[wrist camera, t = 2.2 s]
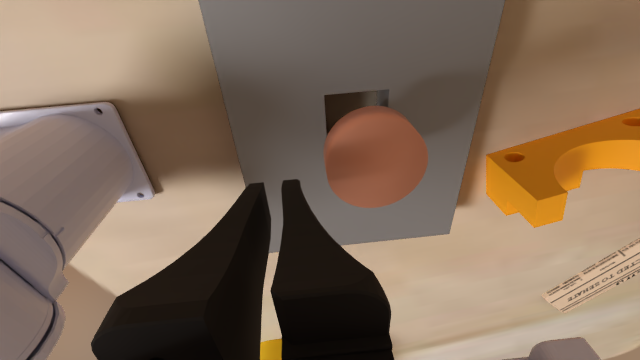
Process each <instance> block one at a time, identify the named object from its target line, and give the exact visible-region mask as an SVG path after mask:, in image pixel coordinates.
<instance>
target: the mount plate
mask: <svg viewBox="0 0 640 360" xmlns="http://www.w3.org/2000/svg"><path fill="white" fill-rule="evenodd" d="M198 1H199V5H200V9H201V12H202V16H203V20H204V24H205V28H206V32H207V36H208V40H209V44H210V48H211V52H212V56H213V60H214V64H215V68H216V72H217V76H218V80H219V84H220V88H221V91H222V95H223V99H224V103H225V107H226V111H227V115H228V119H229V123H230V127H231V131H232V135H233V139H234V143H235V147H236V151H237V155H238V159H239V163H240V167H241V170H242V174H243V178H244V182H245V186H246V187H247V186H248V185H249V184H250V183H261V182H264V186H265V191H266V196H267V201H268V206H269V210H270V215H271V240H270V247H269V253H273V252H279V251H280V244H281V237H282V229H283V208H282V193H281V188H282V183H283V180H292V179H298V180H299V181H300V184H301V189H302V192H303V194H304V197H305V199H306V201H307V203H308V205H309V206H310V208H311V210H312V212H313V213H314V215H315V216H316V218H317V219H318V221H319V222H320V223H321V225H322V226H323V227H324V229H325V230H326V231H327V232H328V234H329V235H330V236H331V237H332V238H333V239H334V240H335V241H336V242H337V243H338V244H339V245H349V244H359V243H368V242H378V241H387V240H397V239H406V238H416V237H425V236H435V235H444V234H449V233H450V229H451V225H452V220H453V216H454V212H455V208H456V204H457V199H458V195H459V191H460V187H461V183H462V179H463V174H464V170H465V166H466V162H467V158H468V153H469V149H470V145H471V141H472V137H473V133H474V128H475V124H476V120H477V116H478V112H479V108H480V103H481V99H482V95H483V91H484V87H485V82H486V78H487V74H488V70H489V66H490V62H491V57H492V53H493V49H494V45H495V41H496V36H497V32H498V28H499V24H500V20H501V16H502V11H503V7H504V3H505V0H198ZM375 90H377V106H384V107H388V108H391V109H394V110H396V111H398V112H399V113H401V114H402V115H403V116H405V117H406V119H407V120H408V121H409V122H410V123H411V124H412V126H413V127H414V128H415V129H416V130H417V132H418V133H419V134H420V135H421V137H422V138H423V140H424V142H425V144H426V146H427V151H428V164H427V168H426V171H425V174H424V176H423V178H422V180H421V181H420V182H419V184H418V185H417V186H416V187H415V189H414V190H413V191H412V192H410V193H409V194H408V195H407V196H405V197H404V198H402V199H401V200H399V201H397V202H395V203H392V204H390V205H387V206H383V207H377V208H362V207H357V206H353V205H351V204H348V203H346V202H345V201H343V200H341V199H340V198H339V197H338V196H337V195H336V194H335V193H334V192H333V190H332V189H331V187H330V185H329V182H328V179H327V174H326V168H325V163H324V156H323V149H324V143H325V140H326V137H327V135H328V134H326V118H325V101H324V95H331V94H342V93H353V92H364V91H375Z"/></svg>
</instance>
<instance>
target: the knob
mask: <svg viewBox="0 0 640 360" xmlns="http://www.w3.org/2000/svg"><path fill="white" fill-rule="evenodd" d="M323 156H324V163H325V168H326V174H327V179H328V182H329V185H330V187H331V189H332V190H333V192H334V193H335V194H336V195H337V196H338V197H339V198H340V199H341V200H343V201H345V202H346V203H348V204H351V205H353V206H357V207H362V208H377V207H383V206H387V205H390V204H392V203H395V202H397V201H399V200H401V199H402V198H404V197H405V196H407V195H408V194H409V193H410V192H412V191H413V190H414V189H415V187H416V186H417V185H418V184H419V182H420V181H421V180H422V178H423V176H424V174H425V171H426V168H427V164H428V151H427V146H426V144H425V142H424V140H423V138H422V137H421V135H420V134H419V133H418V132H417V130H416V129H415V128H414V127H413V126H412V124H411V123H410V122H409V121H408V120H407V119H406V117H405V116H403V115H402V114H401V113H399V112H398V111H396V110H394V109H391V108H388V107H384V106H367V107H362V108H359V109H356V110H354V111H351V112H350V113H348V114H346V115H345V116H343V117H342V118H341V119H340V120H338V121H337V122H336V123H335V125H334V126H333V127H332V128H331V130H330V131H329V133H328V135H327V137H326V140H325V143H324V149H323Z"/></svg>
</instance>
